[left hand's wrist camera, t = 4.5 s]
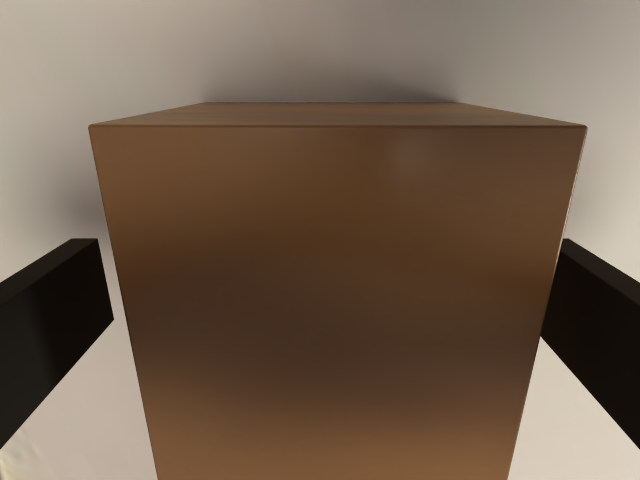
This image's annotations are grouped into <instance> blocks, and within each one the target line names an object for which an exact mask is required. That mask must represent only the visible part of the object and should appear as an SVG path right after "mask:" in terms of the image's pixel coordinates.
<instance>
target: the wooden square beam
mask: <svg viewBox="0 0 640 480" xmlns="http://www.w3.org/2000/svg"><path fill="white" fill-rule="evenodd" d="M88 129H89V134H90V139H91V145H92V150H93V155H94V160H95V165H96V170H97V175H98V180H99V185H100V190H101V195H102V200H103V205H104V210H105V215H106V220H107V225H108V230H109V235H110V240H111V245H112V250H113V255H114V260H115V266H116V271H117V276H118V281H119V286H120V291H121V296H122V301H123V306H124V311H125V316H126V321H127V326H128V331H129V336H130V341H131V346H132V351H133V356H134V361H135V366H136V371H137V376H138V381H139V387H140V392H141V397H142V402H143V407H144V412H145V417H146V422H147V427H148V432H149V437H150V442H151V447H152V452H153V457H154V462H155V467H156V472H157V477H158V480H507V479H508V474H509V470H510V466H511V461H512V457H513V453H514V448H515V444H516V440H517V435H518V431H519V426H520V422H521V418H522V413H523V409H524V405H525V400H526V396H527V392H528V387H529V383H530V378H531V374H532V370H533V365H534V361H535V357H536V352H537V348H538V343H539V339H540V335H541V330H542V326H543V322H544V317H545V313H546V309H547V304H548V300H549V295H550V291H551V287H552V282H553V278H554V274H555V269H556V265H557V261H558V256H559V252H560V247H561V243H562V239H563V234H564V230H565V226H566V221H567V217H568V212H569V208H570V204H571V199H572V195H573V191H574V186H575V182H576V178H577V173H578V169H579V164H580V160H581V156H582V151H583V147H584V143H585V138H586V134H587V130H588V129H587V126H585V125H581V124H576V123H570V122H564V121H559V120H553V119H548V118H542V117H536V116H531V115H525V114H520V113H514V112H508V111H503V110H497V109H491V108H486V107H480V106H475V105H469V104H463V103H200V104H195V105H189V106H184V107H179V108H174V109H169V110H163V111H158V112H153V113H148V114H143V115H137V116H132V117H127V118H122V119H117V120H111V121H106V122H101V123H96V124H91V125H89V127H88Z"/></svg>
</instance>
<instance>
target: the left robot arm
mask: <svg viewBox="0 0 640 480" xmlns="http://www.w3.org/2000/svg"><path fill="white" fill-rule="evenodd" d="M113 320H114V317H113V312H112V307H111V302H110V297H109V292H108V287H107V282H106V278H105V273H104V268H103V263H102V258H101V253H100V248H99V243H98V239H70V240H68V241H67V242H65V243H64V244H62V245H60V246H59V247H57V248H56V249H54V250H52V251H51V252H49V253H47V254H46V255H44V256H43V257H41V258H39V259H38V260H36V261H35V262H33V263H31V264H30V265H28V266H26V267H25V268H23V269H22V270H20V271H18V272H17V273H15V274H14V275H12V276H10V277H9V278H7V279H5V280H4V281H2V282H1V283H0V449H1V448H2V447H3V446H4V445H5V443H6V442H7V441H8V440H9V439H10V438H11V437H12V435H13V434H14V433H15V432H16V431H17V430H18V429H19V427H20V426H21V425H22V424H23V423H24V422H25V421H26V419H27V418H28V417H29V416H30V415H31V414H32V413H33V411H34V410H35V409H36V408H37V407H38V406H39V405H40V403H41V402H42V401H43V400H44V399H45V398H46V397H47V396H48V394H49V393H50V392H51V391H52V390H53V389H54V388H55V386H56V385H57V384H58V383H59V382H60V381H61V380H62V378H63V377H64V376H65V375H66V374H67V373H68V372H69V370H70V369H71V368H72V367H73V366H74V365H75V364H76V362H77V361H78V360H79V359H80V358H81V357H82V356H83V354H84V353H85V352H86V351H87V350H88V349H89V348H90V346H91V345H92V344H93V343H94V342H95V341H96V340H97V338H98V337H99V336H100V335H101V334H102V333H103V332H104V330H105V329H106V328H107V327H108V326H109V325H110V324H111V323H112V321H113ZM540 336H541V337H542V338H543V340H544V341H545V342H546V343H547V344H548V345H549V346H550V348H551V349H552V350H553V351H554V352H555V353H556V354H557V356H558V357H559V358H560V359H561V360H562V361H563V362H564V364H565V365H566V366H567V367H568V368H569V369H570V370H571V372H572V373H573V374H574V375H575V376H576V377H577V378H578V380H579V381H580V382H581V383H582V384H583V385H584V386H585V388H586V389H587V390H588V391H589V392H590V393H591V394H592V396H593V397H594V398H595V399H596V400H597V401H598V402H599V403H600V405H601V406H602V407H603V408H604V409H605V410H606V411H607V413H608V414H609V415H610V416H611V417H612V418H613V419H614V421H615V422H616V423H617V424H618V425H619V426H620V427H621V429H622V430H623V431H624V432H625V433H626V434H627V435H628V437H629V438H630V439H631V440H632V441H633V442H634V443H635V445H636V446H637V447H638V448H639V449H640V283H639V282H638V281H636V280H635V279H633V278H631V277H630V276H628V275H626V274H625V273H623V272H622V271H620V270H618V269H617V268H615V267H614V266H612V265H610V264H609V263H607V262H605V261H604V260H602V259H601V258H599V257H597V256H596V255H594V254H593V253H591V252H589V251H588V250H586V249H584V248H583V247H581V246H580V245H578V244H576V243H575V242H573V241H572V240H570V239H562V243H561V247H560V252H559V256H558V261H557V265H556V269H555V274H554V278H553V282H552V287H551V291H550V295H549V300H548V304H547V309H546V313H545V317H544V322H543V326H542V330H541V335H540Z"/></svg>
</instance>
